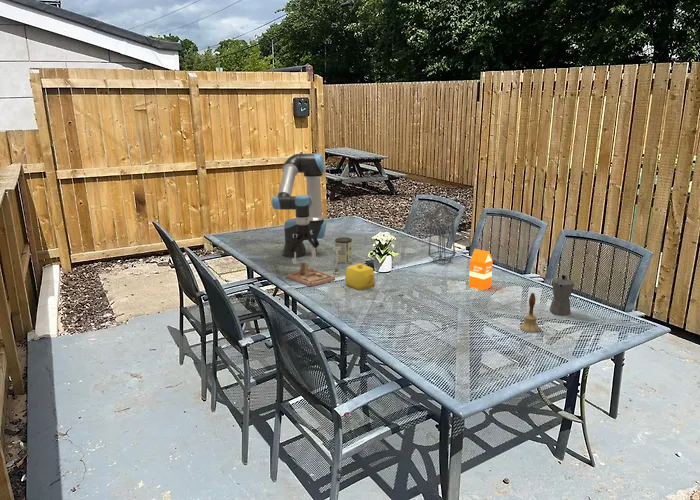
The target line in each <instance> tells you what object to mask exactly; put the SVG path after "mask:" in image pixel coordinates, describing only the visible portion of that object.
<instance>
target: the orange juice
mask: <svg viewBox="0 0 700 500" xmlns="http://www.w3.org/2000/svg"><path fill="white" fill-rule="evenodd" d="M469 263H470V264H469V279H468V281H469V282H468V287H470V288H473V289H477V290H481V291H485V290H488V289H489V288H491V287H492V278H493V277H492V276H493V259H492V256H491V253H490V251H487V250H482V249H478V248H474V250H473V252H472V255H471V257H470V260H469Z"/></svg>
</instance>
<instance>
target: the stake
mask: <svg viewBox="0 0 700 500" xmlns="http://www.w3.org/2000/svg"><path fill="white" fill-rule="evenodd" d="M340 249H341V247H340V246H339V247H332V248H331V251H333V252H334V271H332V272H333V273H332V274H333V275H340V274H341V271H340V270H339V263H338V250H340Z"/></svg>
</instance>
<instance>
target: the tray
mask: <svg viewBox="0 0 700 500" xmlns="http://www.w3.org/2000/svg"><path fill="white" fill-rule="evenodd" d="M308 271H309V273H313V272H317V273H320V274H323V275H326V276H329V278H327V279H323V280H319V281H316V282H312V283H311V282H308V281H305V280H303V279H300V278H299V276H302V275H300V270H298V271H296V272H295V271H294V272H291V273H287V278H288V279H290V280H292V281H295V282H297V283H300V284H302V285H304V286H307V285H308V287H310V288H311V287H312V288H313V287H315V286H319V285H323V284H327V283H330V282H333V281H335V280H336V277H335V276H334V275H331V274H328V273H326V272H323V271H319V270H317V269H314V268H312V267H311V268H308ZM318 278H321V277H318V276H312V277H308V279H311V280H315V279H318Z"/></svg>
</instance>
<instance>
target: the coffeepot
mask: <svg viewBox="0 0 700 500" xmlns="http://www.w3.org/2000/svg"><path fill="white" fill-rule="evenodd" d="M551 281H552V282H551V284H552V294H553V297H552V300H551V303H550V308H549V312H550V313H551V314H553V315H555V316H561V317H566V316H570V315H571V314H572V313H571V312H572V311H571V301H570V297H571V296H572V293H573V292H572V291H573V289H574V286H575V282H573V280H571V279H568V276H566V275H565V274H562V275H561V278H554V279H552V280H551Z"/></svg>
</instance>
